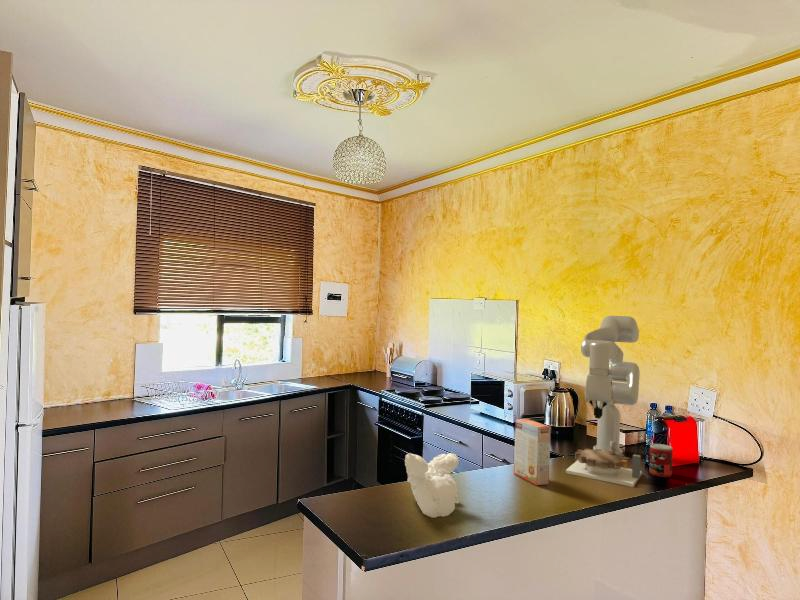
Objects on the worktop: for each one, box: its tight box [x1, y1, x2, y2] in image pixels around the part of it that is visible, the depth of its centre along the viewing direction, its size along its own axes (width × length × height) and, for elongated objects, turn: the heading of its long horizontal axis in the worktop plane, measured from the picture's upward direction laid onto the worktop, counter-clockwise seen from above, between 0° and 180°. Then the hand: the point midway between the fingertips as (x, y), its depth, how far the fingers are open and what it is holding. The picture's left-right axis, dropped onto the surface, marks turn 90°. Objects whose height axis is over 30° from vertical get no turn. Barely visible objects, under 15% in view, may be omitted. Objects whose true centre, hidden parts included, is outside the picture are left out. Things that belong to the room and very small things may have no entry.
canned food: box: [648, 443, 674, 478], centre depth 198 cm, size 8×8×11 cm
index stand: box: [565, 453, 643, 488], centre depth 195 cm, size 19×25×9 cm
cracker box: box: [513, 418, 552, 486], centre depth 185 cm, size 14×6×21 cm, turn 22°
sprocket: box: [574, 441, 630, 469], centre depth 196 cm, size 19×19×7 cm
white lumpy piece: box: [404, 452, 460, 519], centre depth 156 cm, size 19×20×20 cm
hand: (598, 417), depth 203 cm, fingers closed
